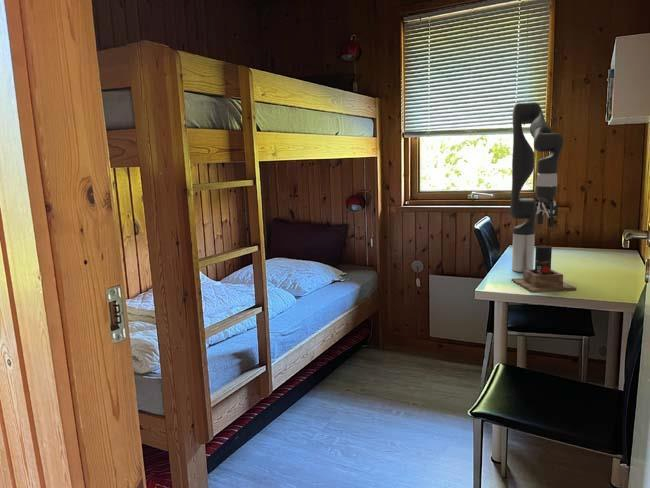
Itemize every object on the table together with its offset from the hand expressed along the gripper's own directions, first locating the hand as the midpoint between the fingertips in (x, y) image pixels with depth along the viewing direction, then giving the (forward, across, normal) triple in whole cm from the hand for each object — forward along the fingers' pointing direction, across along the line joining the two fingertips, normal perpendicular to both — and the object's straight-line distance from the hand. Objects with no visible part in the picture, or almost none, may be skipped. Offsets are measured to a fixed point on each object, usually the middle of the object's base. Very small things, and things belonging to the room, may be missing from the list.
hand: (544, 225), depth 196 cm
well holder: (+25, 0, 0) cm, 25 cm away
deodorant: (+24, 0, 0) cm, 24 cm away
